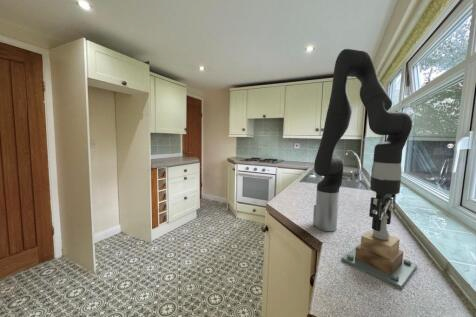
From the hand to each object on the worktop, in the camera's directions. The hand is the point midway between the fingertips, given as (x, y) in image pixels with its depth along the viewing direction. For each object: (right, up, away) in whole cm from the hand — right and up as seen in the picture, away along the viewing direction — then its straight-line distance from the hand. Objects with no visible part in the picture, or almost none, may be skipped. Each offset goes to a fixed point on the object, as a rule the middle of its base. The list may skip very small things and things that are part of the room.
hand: (381, 226), depth 64 cm
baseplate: (0, -13, +1) cm, 13 cm away
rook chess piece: (0, -4, 0) cm, 4 cm away
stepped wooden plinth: (0, -13, +1) cm, 13 cm away
